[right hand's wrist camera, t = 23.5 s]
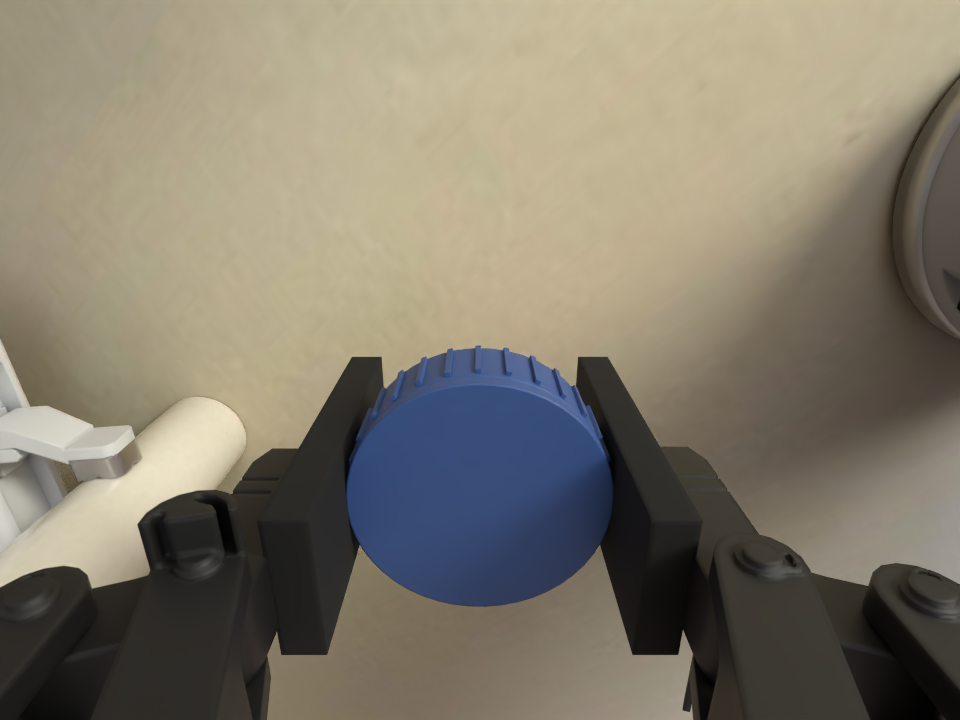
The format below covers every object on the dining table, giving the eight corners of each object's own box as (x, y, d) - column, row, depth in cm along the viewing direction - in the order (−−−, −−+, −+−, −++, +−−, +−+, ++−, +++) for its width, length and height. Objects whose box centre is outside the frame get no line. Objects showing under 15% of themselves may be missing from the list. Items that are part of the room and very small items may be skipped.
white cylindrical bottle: (229, 389, 28) (-20, 635, 14) (258, 461, 30) (59, 747, 16) (149, 404, 29) (-172, 658, 15) (182, 474, 30) (-79, 765, 16)
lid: (391, 565, 13) (378, 625, 12) (331, 366, 11) (305, 405, 10) (609, 534, 13) (628, 592, 11) (586, 324, 11) (605, 356, 9)
